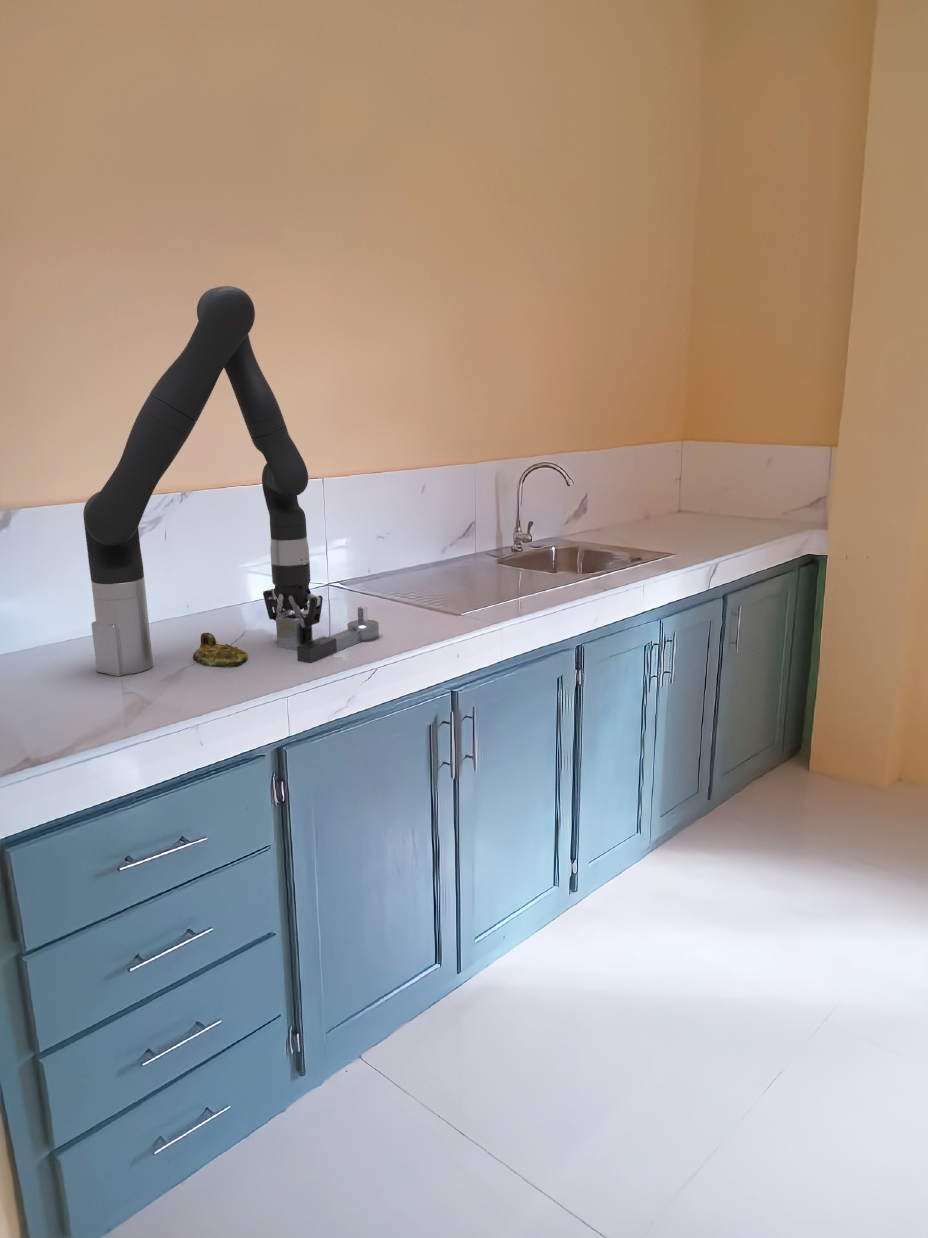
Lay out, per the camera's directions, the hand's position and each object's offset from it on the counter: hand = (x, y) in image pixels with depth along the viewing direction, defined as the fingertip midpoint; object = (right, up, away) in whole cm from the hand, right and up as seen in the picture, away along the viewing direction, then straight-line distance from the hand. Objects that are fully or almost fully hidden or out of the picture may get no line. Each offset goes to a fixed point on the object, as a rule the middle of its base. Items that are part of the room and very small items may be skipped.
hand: (295, 642), depth 191 cm
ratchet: (+9, -1, -2) cm, 10 cm away
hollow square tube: (0, -1, 0) cm, 1 cm away
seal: (-13, -3, -8) cm, 16 cm away
